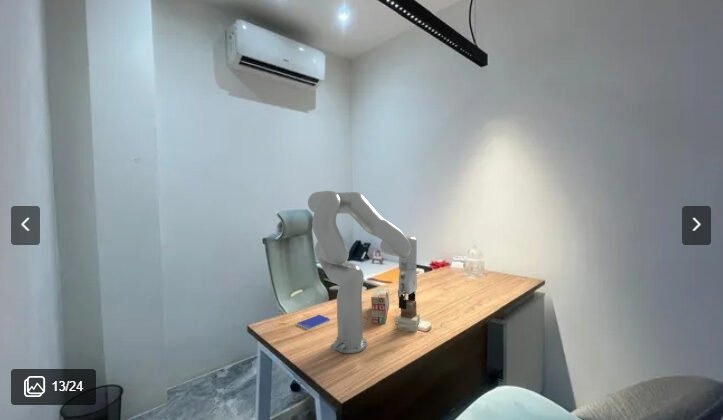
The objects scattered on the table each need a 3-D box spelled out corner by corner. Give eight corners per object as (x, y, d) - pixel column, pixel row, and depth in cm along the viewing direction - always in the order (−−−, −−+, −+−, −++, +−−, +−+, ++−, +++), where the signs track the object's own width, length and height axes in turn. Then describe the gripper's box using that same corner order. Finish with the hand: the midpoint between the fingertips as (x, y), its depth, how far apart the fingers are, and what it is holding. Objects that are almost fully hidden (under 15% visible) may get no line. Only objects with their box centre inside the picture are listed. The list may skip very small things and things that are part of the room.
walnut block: (411, 318, 125) (411, 304, 125) (401, 316, 128) (400, 302, 128) (416, 314, 130) (416, 301, 129) (406, 312, 132) (405, 299, 132)
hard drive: (308, 327, 128) (330, 318, 137) (297, 322, 133) (318, 314, 142) (308, 331, 128) (330, 322, 137) (297, 326, 133) (318, 317, 143)
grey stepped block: (416, 332, 124) (416, 320, 123) (397, 330, 126) (397, 318, 126) (419, 324, 131) (419, 313, 131) (401, 322, 134) (401, 311, 134)
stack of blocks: (377, 306, 154) (376, 282, 154) (389, 306, 153) (388, 283, 153) (371, 323, 133) (371, 296, 133) (385, 324, 132) (385, 296, 132)
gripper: (407, 270, 118) (407, 313, 119) (423, 263, 133) (422, 301, 133) (390, 268, 122) (390, 309, 123) (407, 261, 137) (407, 298, 137)
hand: (407, 305), depth 128 cm, fingers open, 9 cm apart
